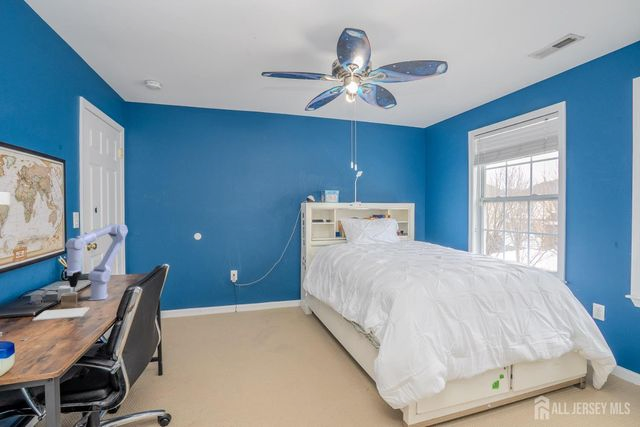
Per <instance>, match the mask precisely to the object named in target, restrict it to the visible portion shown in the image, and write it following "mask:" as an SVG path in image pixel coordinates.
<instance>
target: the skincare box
mask: <svg viewBox="0 0 640 427" xmlns="http://www.w3.org/2000/svg"><path fill="white" fill-rule="evenodd" d="M71 292H76V287H70V285H62V286H60V287H58V288H57V299H58V298H61V294H62V293H71Z"/></svg>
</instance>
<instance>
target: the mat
mask: <svg viewBox="0 0 640 427" xmlns="http://www.w3.org/2000/svg"><path fill="white" fill-rule="evenodd" d="M88 310H90V307H88V306H87V307H86V306H85V307H77V308H72V309H61V308H59V309H47V310H44V311H42V312H41V313H39V314H38V315H37V316H36V317H34V318H33V319H31V320H32V321H31V322H37V321H50V320H59V319H60V320H61V319H71V318H72V319H73V318H81V317H83V316H84V315H85V314H86V313H87V312H88Z"/></svg>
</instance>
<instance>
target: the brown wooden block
mask: <svg viewBox="0 0 640 427" xmlns="http://www.w3.org/2000/svg"><path fill="white" fill-rule="evenodd" d="M72 308H78V291H75V292H71V293H62V294H61V302H60V309H72Z"/></svg>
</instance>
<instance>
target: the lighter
mask: <svg viewBox="0 0 640 427" xmlns="http://www.w3.org/2000/svg"><path fill="white" fill-rule="evenodd" d="M49 291H50V288H47V287H46V288H45V289H44V290H43V293H42V294H40V293H34V294H32V295H31V296H30V302H31V301H36V300H42V301H43V297H45V296H46V295H47V294H48V292H49Z"/></svg>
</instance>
